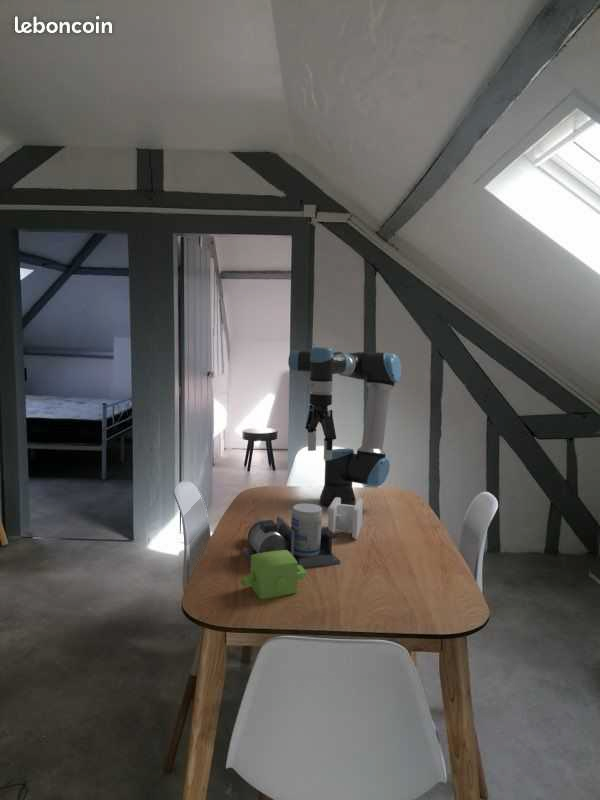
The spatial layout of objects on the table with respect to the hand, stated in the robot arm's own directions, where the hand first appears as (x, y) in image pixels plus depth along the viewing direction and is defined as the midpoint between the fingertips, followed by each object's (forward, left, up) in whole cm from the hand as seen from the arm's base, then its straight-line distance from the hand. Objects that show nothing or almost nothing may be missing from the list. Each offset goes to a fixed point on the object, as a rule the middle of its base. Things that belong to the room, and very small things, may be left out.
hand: (319, 454), depth 189 cm
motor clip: (+14, +14, -29) cm, 35 cm away
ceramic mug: (+19, +1, -29) cm, 35 cm away
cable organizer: (-11, -1, -29) cm, 31 cm away
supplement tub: (+10, +14, -28) cm, 33 cm away
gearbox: (+28, +35, -29) cm, 54 cm away
